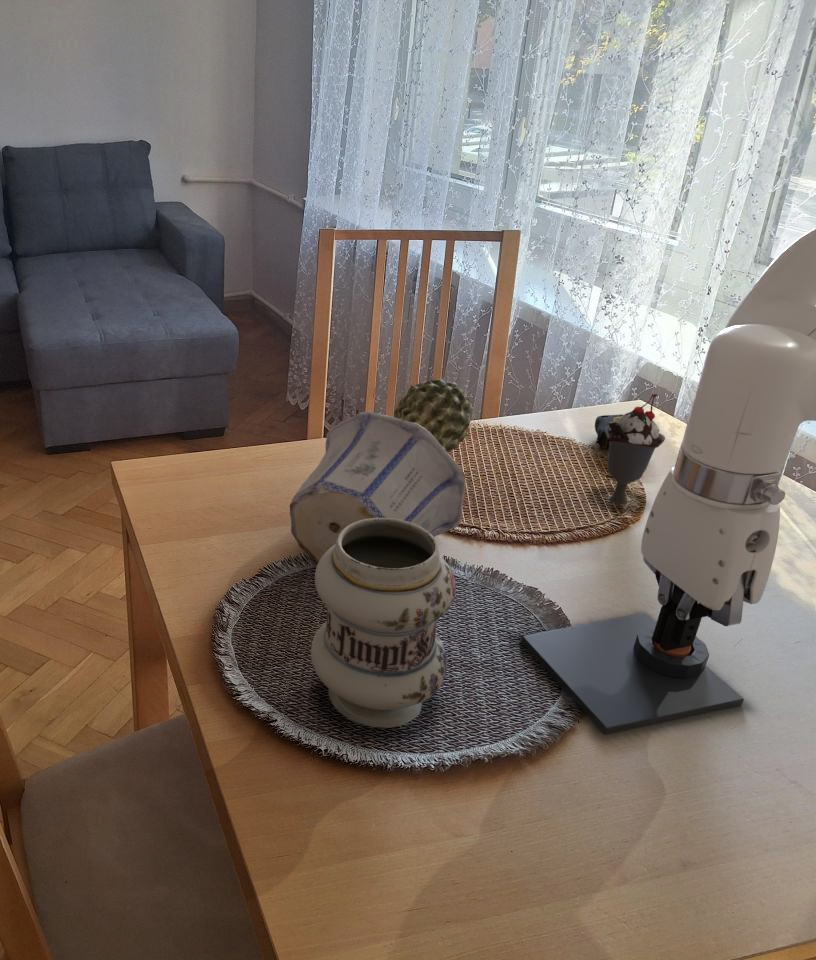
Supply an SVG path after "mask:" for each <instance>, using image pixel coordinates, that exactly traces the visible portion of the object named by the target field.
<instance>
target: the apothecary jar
mask: <svg viewBox="0 0 816 960" xmlns="http://www.w3.org/2000/svg"><path fill="white" fill-rule="evenodd" d="M314 585H315V589H316V592H317V594H318V596H319V598H320V600H321V601H322V602H323V603H324V605H325V606H326V607H327V608H326V621H325V622H324V623H322V625H321V626H320V627H319V628H318V629H317V630H316V632H315V634H314V636H313V638H312V642H311V647H310V658H311V663H312V666H313V669H314V671H315V673H316V675H317V677H318V679H319V680H320V681H321V683H322V684H324V686H326V688H327V693H328V697H329V699H330V702H331V703H332V705H333V706H334V708H335V709H336V710H337V711H338V712H339V713H340V714H341V715H343V716H344V717H345V718H347V719H349V720H350V721H353V722H355V723H358V724H359V725H360V724H361V725H364V726H367V727H371V728H387V729H388V728H389V729H390V728H398V727H401V726H403V725H405V724H407V723H409V722H411V721H413V720H414V719H416V718H417V717H418V716H419V715H420V713H421V711H422V706H423V702H425V701H427V700H428V699H430V698H431V697H432V696H433V695H435V694H436V693H437V692H438V690H439V689H440V688H441V686H442V685H443V683H444V681H445V679H446V676H447V671H448V656H447V651H446V648H445V646H444V644H443V642H442V640H441V638H440V637H439V636H438V634H437V624H438V623H437V622H438V620H439V619H440V618H441V617H442V616H443V615H445V614H446V612H448V610H449V609H450V608H451V606H452V605H453V602H454V601H455V597H456V592H457V584H456V579H455V575H454V573H453V570H452V569H451V567H450V565H449V564H448V561H446V560H445V559H444V558H443V557H442V556H441V554H440V545H439V543H438V541H437V539H436V537H433V536H432V535H431V534H430V533H429V532H428V531H426V530H425V529H423V528H422V527H420V526H418V525H415V524H413V523H410V522H407V521H404V520H400V519H393V518H370V519H364V520H360V521H357V522H354V523H352V524H350V525H348V526H347V527H346V528H344V529H343V530H342V531H341V533H340V534H339V536H338V538H337V541H336V544H335V545H334V546H332V547H331V548H330V549H329V550H327V551H326V552H325V554H324V555H323V556H322V557H321V559H320V560H319V562H318V563H317V565H316V568H315V572H314Z"/></svg>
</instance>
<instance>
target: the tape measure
mask: <svg viewBox="0 0 816 960" xmlns="http://www.w3.org/2000/svg"><path fill="white" fill-rule="evenodd" d="M623 415H624V414H607V415H606V414H605V415H598V416H597V417H596V418H595V420H594V429H595V430H594V431H595V434H597V436H596V442H595V443H596V444H597V445H598V447H599V448H600V449H602V450H609V439H608V438H607V436H606V434H605V428H606V427H607V426H609V422H618V421H619V419H620V418H621V417H622V416H623Z"/></svg>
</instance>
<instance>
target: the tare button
mask: <svg viewBox="0 0 816 960" xmlns="http://www.w3.org/2000/svg"><path fill="white" fill-rule="evenodd" d="M654 646H655V647H656V648H657V649H658V650H660V651H662V652H664V653H666V654H668V655H671V656H676V657H686V656H689V653H690V650H691V646H688V647H683V648H678V649H673V650H668V651H664V650H663V649H662V648H661V647H660V644H657V643H656V642H654Z"/></svg>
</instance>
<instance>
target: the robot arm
mask: <svg viewBox="0 0 816 960" xmlns="http://www.w3.org/2000/svg"><path fill="white" fill-rule="evenodd" d="M808 421H809V422H810V421H812V422H813V421H815V422H816V227H814V228H813V229H811V230H809V231H808V232H806V233H805V234H803V235H801V236H800V237H799V238H797V239H796V240H794V241H793V242H792V243H791V244H789V245H788V246H787V247H786V248H785V249H784V250H783V251H782V252H780V253H779V254H778V256H776V257H775V258H774V259H773V261H772V262H771V263H770V264H769V266H768V267H767V268H766V269H765V270H764V272H763V273H762V274H761V275H760V277H759V278H758V279H757V281H756V282H755V283H754V284H753V285H752V287H751V288H750V290H749V291H748V293H747V294H746V295H745V296H744V298H742V300H741V302H740V303H739V304H738V306H737V307H736V308H735V310H734V311H733V313H732V315H731V317H730V319H729V320H728V322H727V324H726V326H725V328H724V329H722V330H720V331H719V332H718V333H716V334H715V336H714V337H713V339H712V340H711V342H710V344H709V345H708V350H707V352H706V355H705V359H704V362H703V366H702V369H701V373H700V377H699V381H698V384H697V387H696V390H695V394H694V397H693V401H692V406H691V408H690V413H689V416H688V419H687V423H686V427H685V430H684V434H683V437H682V441H681V444H680V446H679V451H678V454H677V458H676V461H675V465H674V467H672V468H671V469H670V470H669V471H668V473H667V475H666V477H665V478H664V480H663V482H662V483H661V486H660V487H659V490H658V492H657V494H656V495H655V496H656V497H655V499H654V501H653V504H652V505H651V507H650V511H649V513H648V517H647V520H646V523H645V526H644V530H643V533H642V538H641V544H640V552H641V555H642V556H643V557H642V559H643V562H644V564H645V565H646V566H647V567H648V568H649V570H650V571H651V572H652V573H653V574H654V575H655V579H656V582H657V585H658V591H657V601H658V603H659V604H660V605H661V607H660V611H659V613H658V617H657V620H656V627H655V630H654V633H653V636H652V640H653V641H654V642H656V643H657V644H660V647H661V648H662V649H663V650H664V651H668V650H673V649H678V648H683V647H688V646H691V645H692V644H693V642H694V640H695V637H697V634H698V630H699V629H700V626H701V625H700V624H701V621H702V619H703V618H710V620H712V621H713V622H715V623H718V624H720V625H721V626H724V627H731V626H735V625H740V624H741V623H742V620H743V619H742V617H743V609H744V602H745V603H746V604H750V605H756V604H758V603H759V602H760V601H761V600H762V597H763V595H764V592H765V590H766V587H767V583H768V580H769V577H770V574H771V570H772V567H773V566H772V565H773V562H774V560H775V559H774V558H775V554H776V550H777V546H778V539H779V533H780V524H781V523H780V521H781V506H780V503H782V502H783V501H784V500H785V497H786V492H785V491H784V490H783V489H781V488H780V487H779V484H780V480H781V478H782V476H783V474H784V473H783V472H784V469H785V466H786V464H787V461H788V458H789V455H790V452H791V449H792V446H793V444H794V441H795V439H796V438H795V437H796V435H797V432H798V429H799V427H800V425H801V424H802V423H804V422H808Z"/></svg>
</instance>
